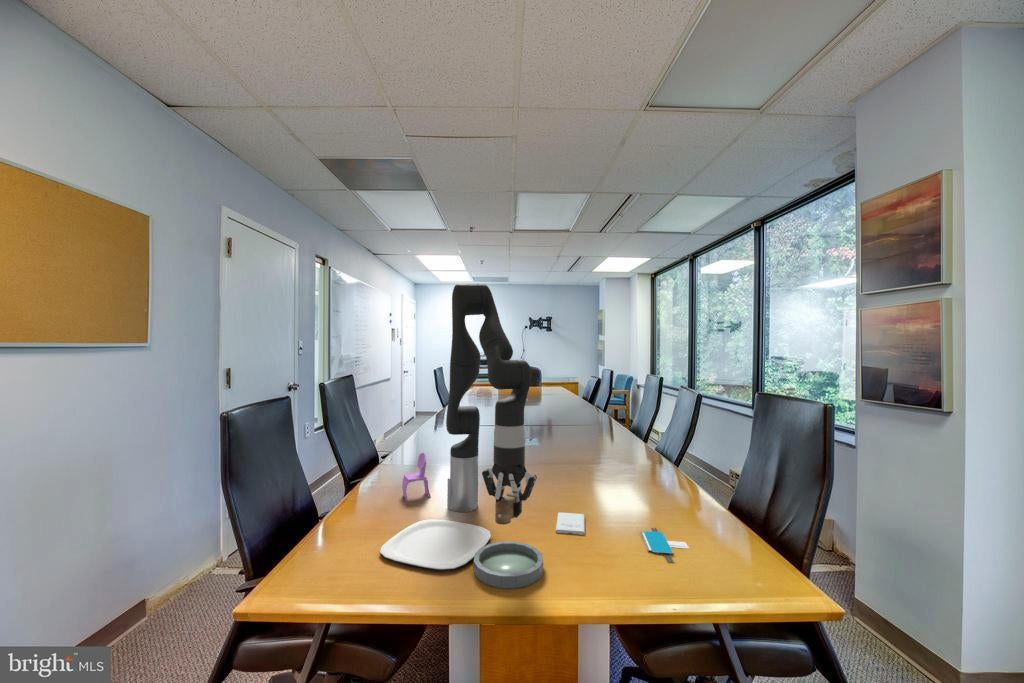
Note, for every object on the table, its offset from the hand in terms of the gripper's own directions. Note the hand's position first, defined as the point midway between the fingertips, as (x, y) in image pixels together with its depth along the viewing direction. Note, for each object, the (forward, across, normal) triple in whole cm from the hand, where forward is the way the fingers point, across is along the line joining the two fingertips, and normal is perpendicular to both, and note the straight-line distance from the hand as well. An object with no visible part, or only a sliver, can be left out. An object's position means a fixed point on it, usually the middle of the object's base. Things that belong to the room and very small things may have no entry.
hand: (508, 514), depth 100 cm
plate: (+14, -22, +4) cm, 26 cm away
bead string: (0, 0, 0) cm, 0 cm away
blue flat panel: (+14, +34, +28) cm, 46 cm away
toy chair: (+13, -48, +32) cm, 59 cm away
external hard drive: (+14, +8, +30) cm, 34 cm away
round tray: (+13, 0, 0) cm, 13 cm away
